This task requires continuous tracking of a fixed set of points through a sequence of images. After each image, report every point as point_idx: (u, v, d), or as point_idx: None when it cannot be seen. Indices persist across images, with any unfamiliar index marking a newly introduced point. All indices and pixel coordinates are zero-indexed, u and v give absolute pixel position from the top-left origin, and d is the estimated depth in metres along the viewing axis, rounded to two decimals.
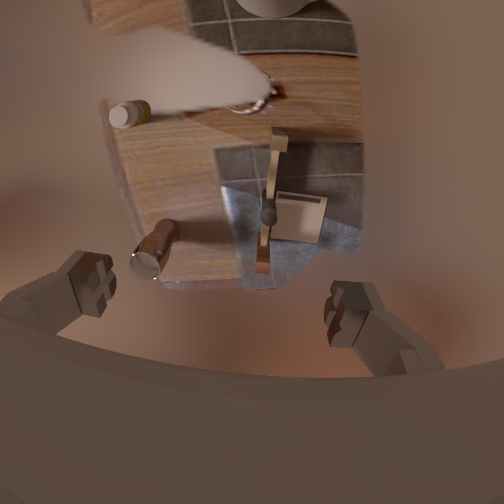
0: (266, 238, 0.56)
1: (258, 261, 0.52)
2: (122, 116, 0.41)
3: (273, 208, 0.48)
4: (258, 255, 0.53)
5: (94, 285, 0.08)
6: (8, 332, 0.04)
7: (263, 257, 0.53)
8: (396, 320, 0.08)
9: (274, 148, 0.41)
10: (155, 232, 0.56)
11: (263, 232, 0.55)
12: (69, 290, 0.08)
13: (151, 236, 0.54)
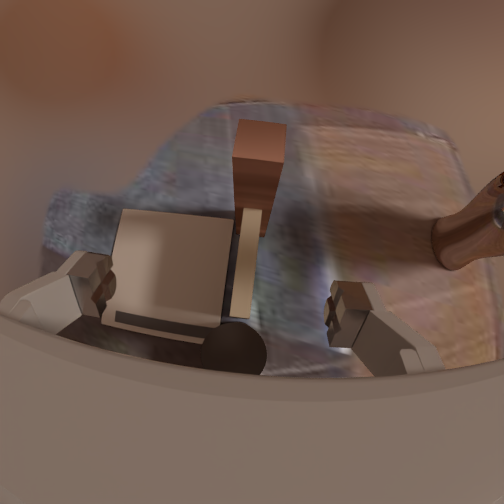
0: (244, 233, 0.18)
1: (276, 164, 0.13)
2: None
3: None
4: (273, 184, 0.15)
5: (94, 285, 0.08)
6: (8, 332, 0.04)
7: (255, 177, 0.14)
8: (396, 320, 0.08)
9: None
10: (494, 256, 0.18)
11: (253, 253, 0.18)
12: (69, 290, 0.08)
13: None
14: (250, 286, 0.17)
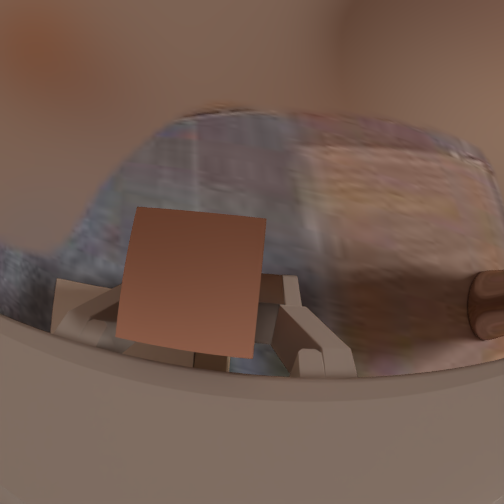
0: None
1: None
2: None
3: None
4: None
5: None
6: (8, 332, 0.04)
7: None
8: (309, 316, 0.07)
9: None
10: None
11: None
12: None
13: None
14: None
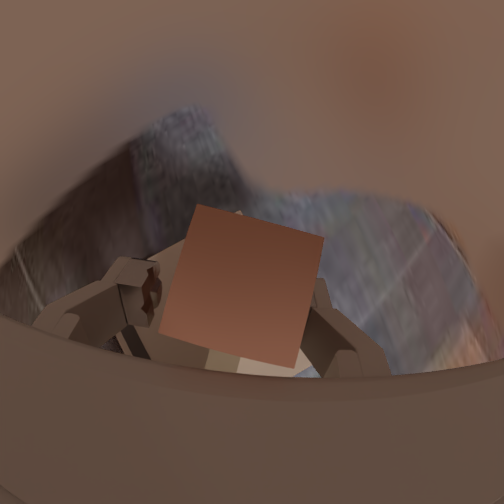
0: None
1: None
2: None
3: None
4: None
5: (146, 294, 0.08)
6: (8, 332, 0.04)
7: None
8: (341, 318, 0.07)
9: None
10: None
11: None
12: (117, 300, 0.08)
13: None
14: None
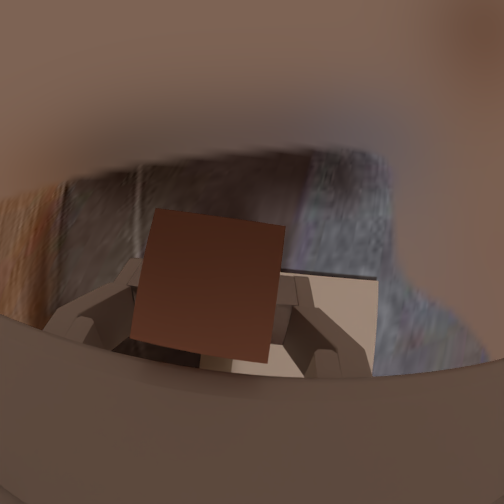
0: None
1: None
2: None
3: None
4: None
5: None
6: (8, 332, 0.04)
7: None
8: (323, 317, 0.07)
9: None
10: None
11: None
12: (130, 302, 0.08)
13: None
14: None
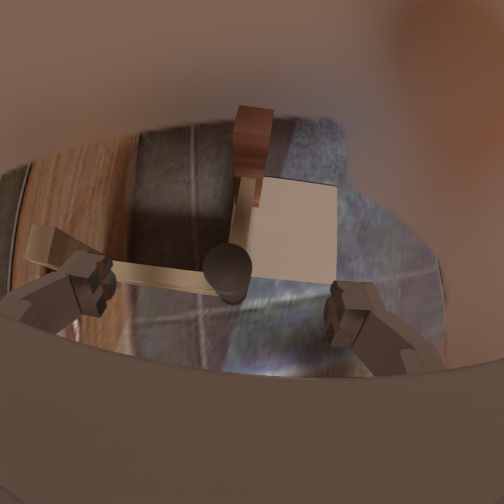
0: (240, 196, 0.22)
1: (265, 137, 0.17)
2: None
3: None
4: (263, 154, 0.19)
5: (94, 285, 0.08)
6: (8, 332, 0.04)
7: (250, 148, 0.19)
8: (396, 320, 0.08)
9: (45, 254, 0.14)
10: None
11: (247, 211, 0.22)
12: (69, 290, 0.08)
13: None
14: (244, 237, 0.21)
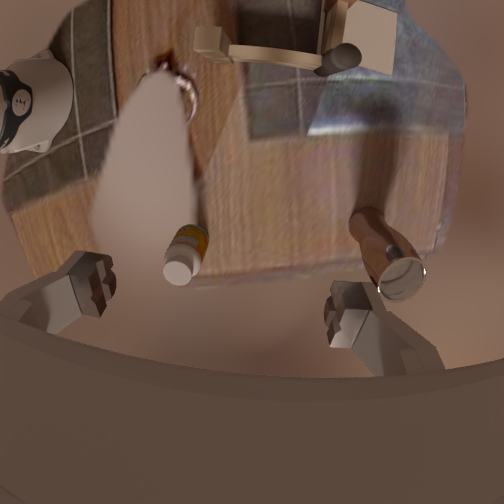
0: (338, 11, 0.21)
1: None
2: (176, 268, 0.36)
3: (331, 50, 0.21)
4: None
5: (94, 285, 0.08)
6: (8, 332, 0.04)
7: None
8: (396, 320, 0.08)
9: (215, 44, 0.20)
10: (361, 244, 0.36)
11: (343, 22, 0.22)
12: (69, 290, 0.08)
13: (363, 253, 0.34)
14: (341, 36, 0.23)
